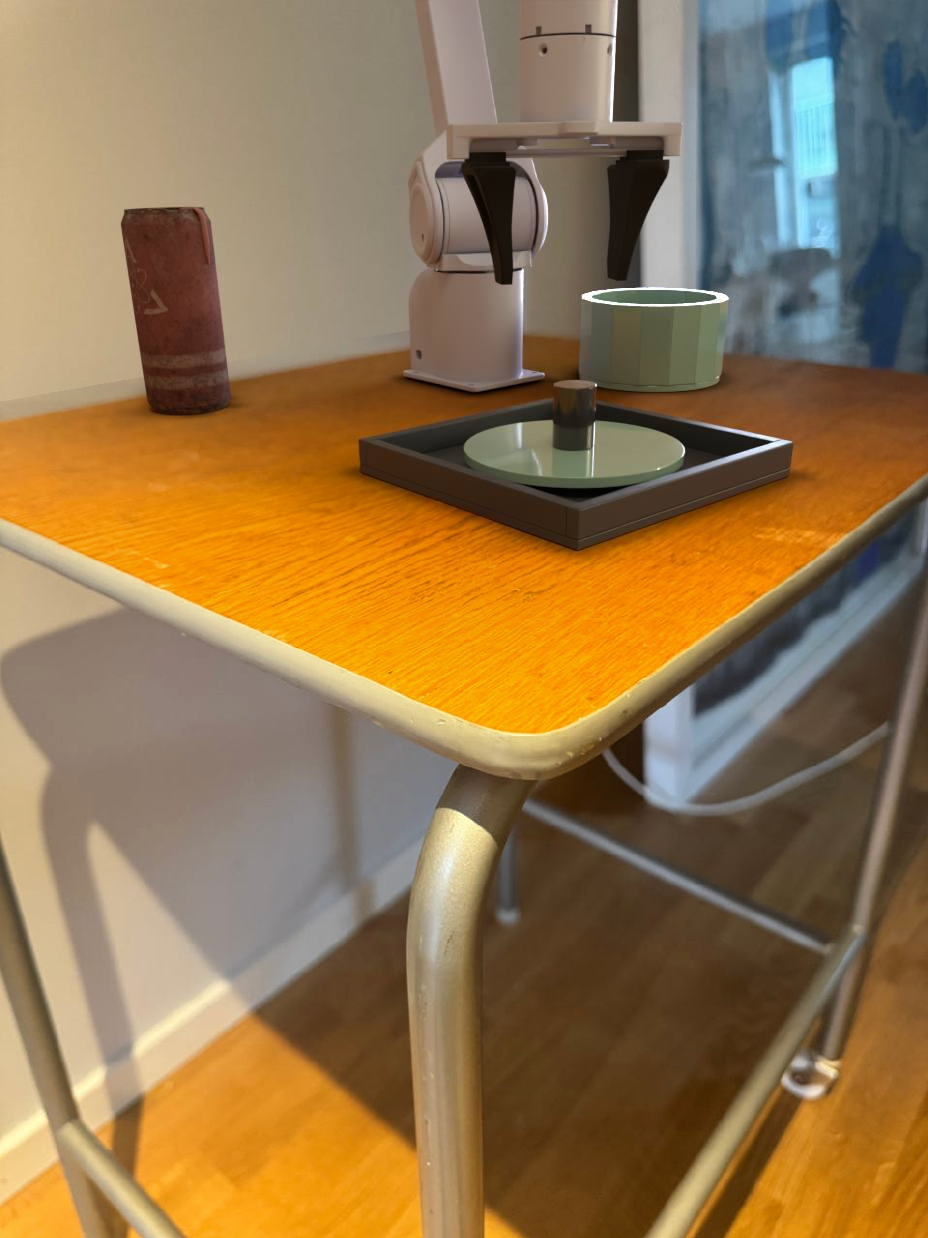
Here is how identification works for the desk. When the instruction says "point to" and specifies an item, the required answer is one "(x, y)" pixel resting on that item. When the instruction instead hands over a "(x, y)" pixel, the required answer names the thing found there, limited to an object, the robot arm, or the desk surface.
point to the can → (176, 308)
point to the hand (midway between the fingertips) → (560, 281)
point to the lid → (574, 447)
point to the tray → (576, 514)
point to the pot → (652, 339)
